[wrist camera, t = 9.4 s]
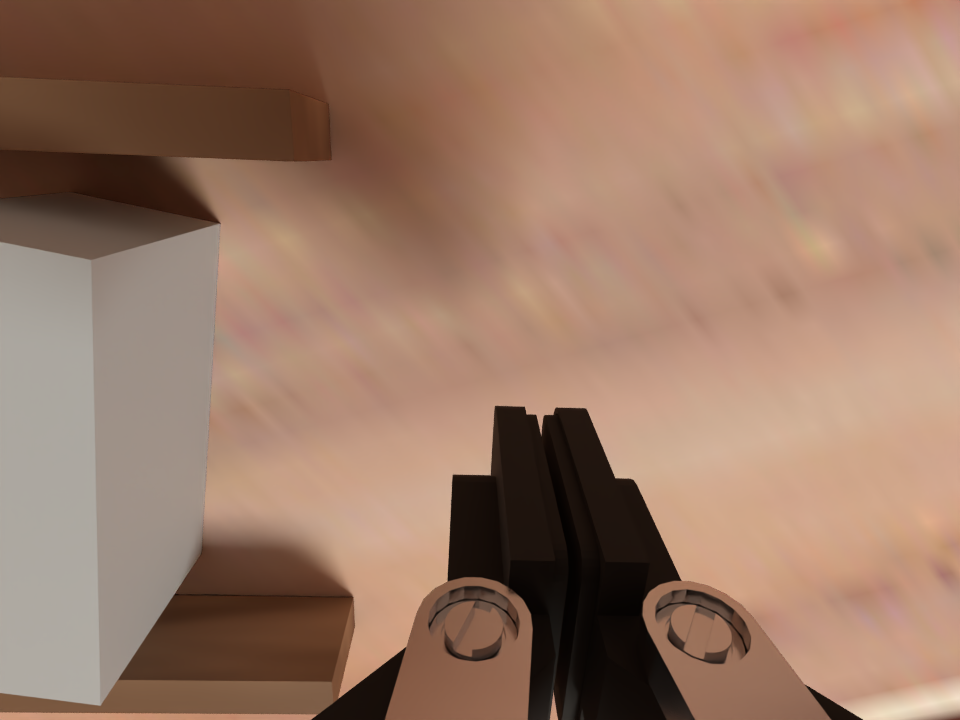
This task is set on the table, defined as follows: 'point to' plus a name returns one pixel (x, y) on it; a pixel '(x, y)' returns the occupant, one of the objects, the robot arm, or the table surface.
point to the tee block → (98, 432)
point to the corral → (197, 618)
